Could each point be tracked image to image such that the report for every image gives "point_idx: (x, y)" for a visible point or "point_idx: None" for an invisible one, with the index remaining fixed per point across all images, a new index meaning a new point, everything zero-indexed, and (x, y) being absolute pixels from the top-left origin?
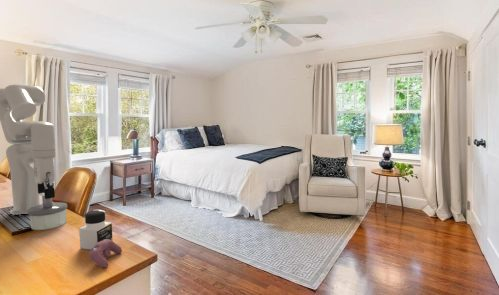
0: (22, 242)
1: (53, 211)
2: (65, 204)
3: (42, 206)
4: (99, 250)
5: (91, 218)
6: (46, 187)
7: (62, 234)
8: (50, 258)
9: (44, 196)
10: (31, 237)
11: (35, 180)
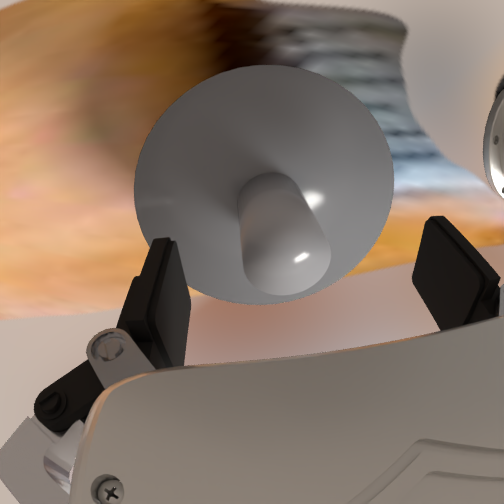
0: (61, 44)
1: (139, 220)
2: (257, 297)
3: (330, 177)
4: None
5: None
6: (91, 356)
7: (61, 195)
8: None
9: (280, 240)
10: (100, 73)
11: (479, 325)
